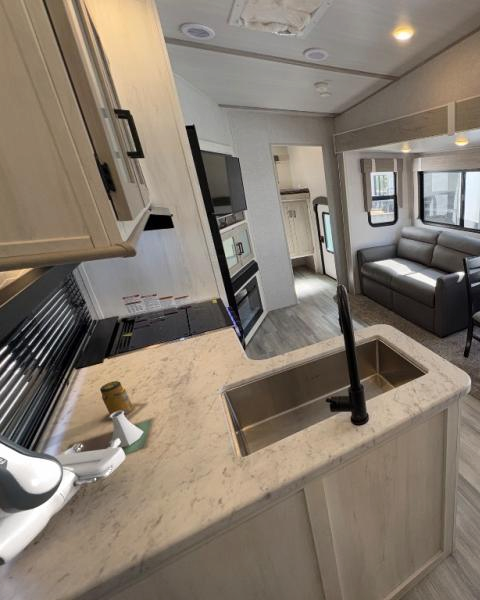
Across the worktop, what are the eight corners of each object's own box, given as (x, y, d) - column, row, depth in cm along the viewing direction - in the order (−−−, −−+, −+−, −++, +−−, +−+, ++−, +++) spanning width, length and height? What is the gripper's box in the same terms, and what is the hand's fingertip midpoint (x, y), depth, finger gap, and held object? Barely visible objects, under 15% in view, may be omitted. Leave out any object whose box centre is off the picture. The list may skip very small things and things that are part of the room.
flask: (130, 448, 92) (117, 422, 89) (106, 449, 93) (93, 423, 89) (148, 430, 99) (137, 405, 95) (127, 430, 99) (115, 406, 96)
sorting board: (54, 481, 84) (53, 479, 83) (72, 446, 95) (71, 445, 95) (145, 448, 93) (144, 447, 92) (152, 420, 104) (151, 419, 104)
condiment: (122, 407, 112) (109, 379, 107) (144, 406, 111) (132, 378, 107) (104, 421, 105) (89, 392, 100) (128, 420, 105) (114, 391, 100)
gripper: (96, 471, 73) (135, 428, 86) (-1, 485, 71) (54, 438, 84) (106, 490, 75) (142, 445, 88) (13, 504, 73) (64, 456, 86)
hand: (99, 442), depth 86 cm, fingers open, 8 cm apart
